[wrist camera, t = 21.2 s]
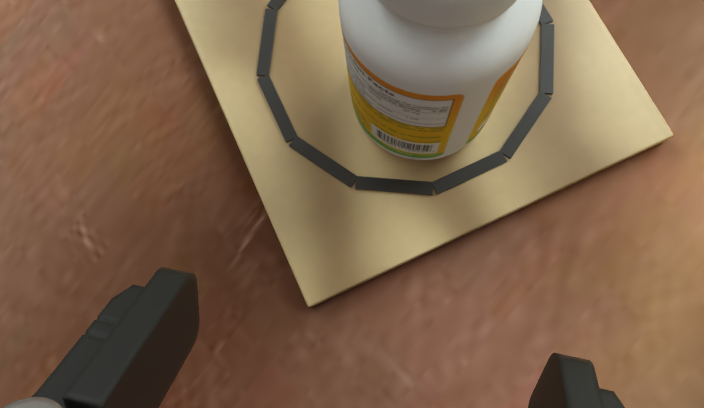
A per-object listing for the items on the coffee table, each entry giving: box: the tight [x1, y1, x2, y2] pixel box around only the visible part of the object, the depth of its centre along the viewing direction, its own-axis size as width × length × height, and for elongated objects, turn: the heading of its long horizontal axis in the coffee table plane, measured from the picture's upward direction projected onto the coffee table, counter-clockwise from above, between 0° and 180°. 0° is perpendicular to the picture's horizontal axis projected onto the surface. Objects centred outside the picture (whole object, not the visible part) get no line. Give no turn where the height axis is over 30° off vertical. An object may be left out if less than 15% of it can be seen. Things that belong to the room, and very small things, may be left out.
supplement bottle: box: [338, 0, 543, 160], centre depth 16 cm, size 5×5×10 cm
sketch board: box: [175, 0, 673, 307], centre depth 22 cm, size 15×15×1 cm
